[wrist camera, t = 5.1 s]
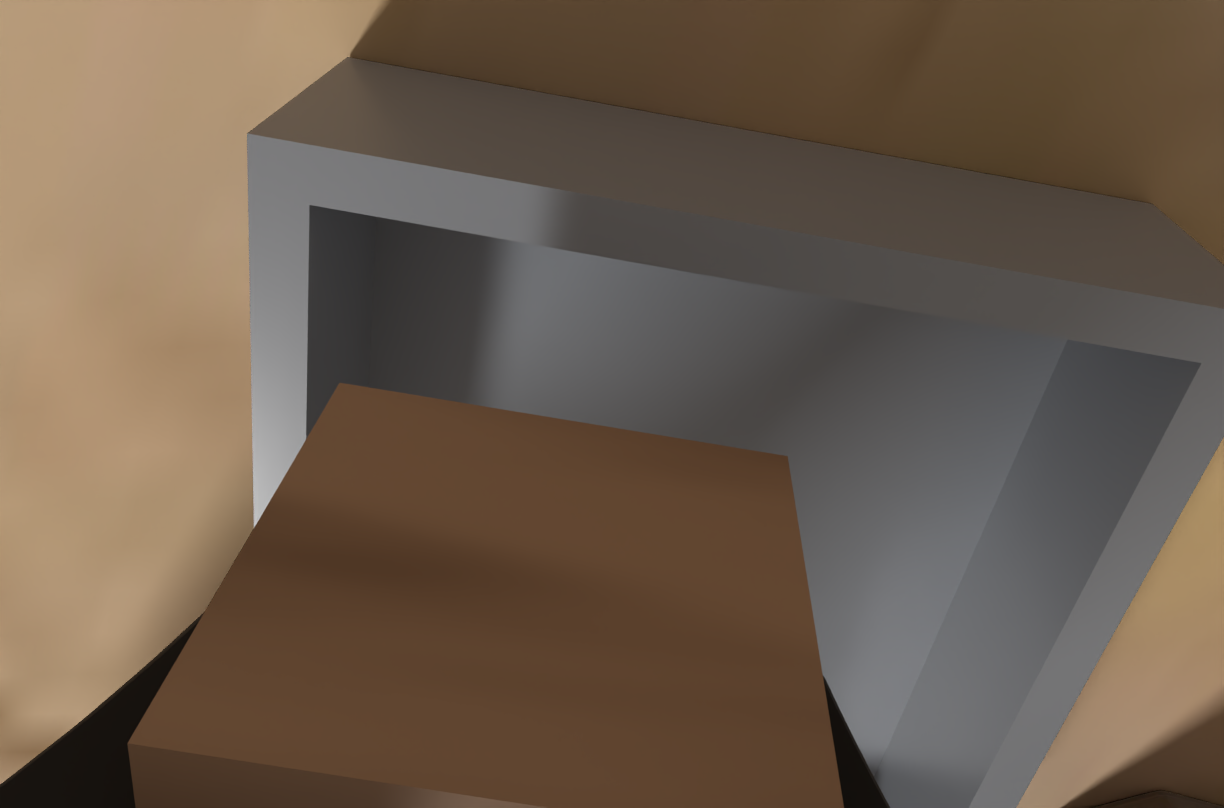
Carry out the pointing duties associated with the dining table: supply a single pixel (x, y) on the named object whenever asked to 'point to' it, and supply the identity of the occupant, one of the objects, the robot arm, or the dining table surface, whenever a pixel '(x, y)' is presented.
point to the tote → (775, 365)
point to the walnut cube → (502, 627)
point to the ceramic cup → (1160, 801)
